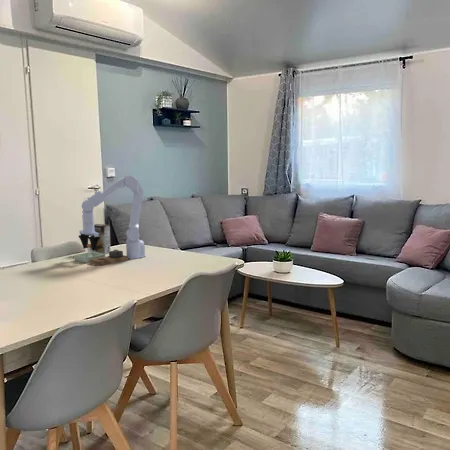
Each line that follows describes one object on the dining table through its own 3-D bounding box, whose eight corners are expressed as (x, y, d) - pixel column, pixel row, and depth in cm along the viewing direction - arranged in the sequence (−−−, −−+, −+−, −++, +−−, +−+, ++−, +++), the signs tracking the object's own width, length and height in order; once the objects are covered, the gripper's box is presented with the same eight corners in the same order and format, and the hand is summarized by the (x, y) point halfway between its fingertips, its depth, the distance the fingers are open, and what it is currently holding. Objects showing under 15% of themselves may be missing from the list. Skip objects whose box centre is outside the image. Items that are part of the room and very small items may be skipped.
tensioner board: (118, 257, 251) (118, 247, 251) (128, 259, 246) (127, 249, 246) (89, 263, 238) (89, 253, 237) (98, 265, 233) (98, 255, 232)
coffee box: (90, 253, 263) (89, 225, 261) (97, 251, 270) (95, 223, 267) (105, 254, 261) (103, 225, 259) (111, 252, 267) (110, 224, 265)
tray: (93, 257, 254) (92, 251, 254) (105, 259, 247) (105, 254, 246) (74, 260, 246) (74, 254, 245) (86, 263, 238) (86, 257, 238)
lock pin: (91, 258, 248) (90, 243, 247) (94, 259, 246) (94, 244, 245) (86, 259, 246) (85, 244, 245) (89, 260, 244) (88, 245, 242)
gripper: (73, 222, 245) (75, 248, 247) (89, 225, 236) (90, 251, 238) (85, 221, 250) (86, 246, 252) (101, 223, 241) (102, 249, 243)
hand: (89, 249), depth 245 cm, fingers open, 7 cm apart
